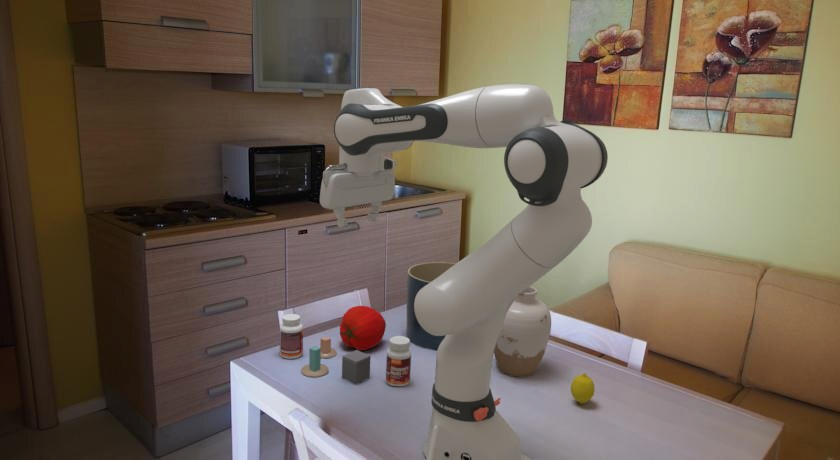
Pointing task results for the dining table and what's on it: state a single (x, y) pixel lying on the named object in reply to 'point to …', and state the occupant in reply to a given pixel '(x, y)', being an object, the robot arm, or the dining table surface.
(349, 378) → the charcoal tapered box
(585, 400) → the fruit
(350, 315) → the tomato
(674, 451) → the dining table surface
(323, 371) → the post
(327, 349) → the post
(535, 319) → the vase
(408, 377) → the pill bottle
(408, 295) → the planter
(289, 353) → the pill bottle
